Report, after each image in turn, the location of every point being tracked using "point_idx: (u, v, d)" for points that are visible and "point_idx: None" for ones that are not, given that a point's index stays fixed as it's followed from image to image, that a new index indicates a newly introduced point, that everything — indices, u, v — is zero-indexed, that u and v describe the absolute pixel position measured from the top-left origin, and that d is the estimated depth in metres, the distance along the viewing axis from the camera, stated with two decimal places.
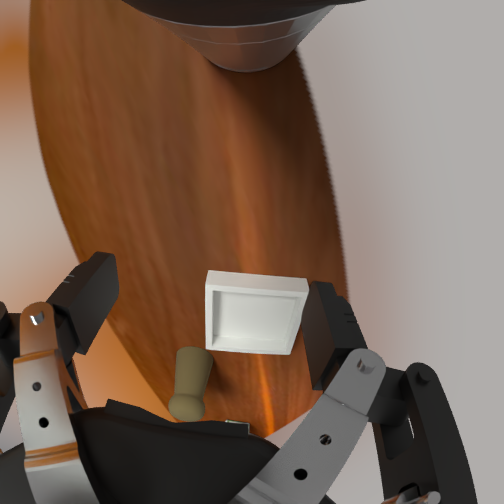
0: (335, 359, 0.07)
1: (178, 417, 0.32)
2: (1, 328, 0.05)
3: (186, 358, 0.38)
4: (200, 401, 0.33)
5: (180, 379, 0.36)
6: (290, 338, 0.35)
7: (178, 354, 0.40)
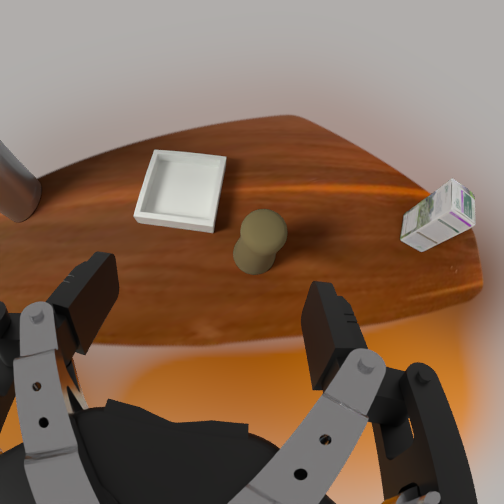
0: (335, 359, 0.07)
1: (268, 236, 0.29)
2: (1, 328, 0.05)
3: (236, 253, 0.37)
4: None
5: (243, 250, 0.34)
6: (202, 157, 0.40)
7: (241, 267, 0.38)
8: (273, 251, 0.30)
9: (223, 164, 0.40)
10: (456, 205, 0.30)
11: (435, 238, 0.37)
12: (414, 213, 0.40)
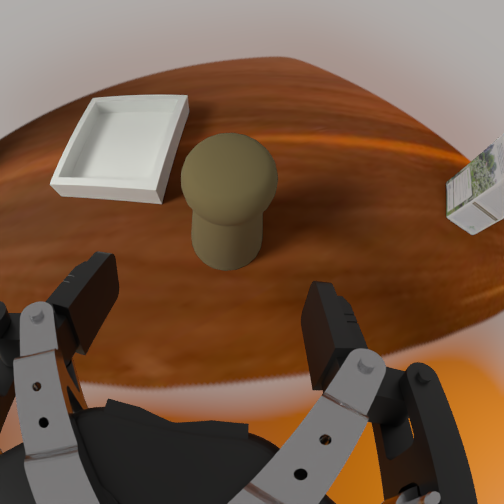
0: (335, 359, 0.07)
1: (233, 178, 0.13)
2: (1, 328, 0.05)
3: (192, 233, 0.21)
4: None
5: (196, 221, 0.18)
6: (153, 98, 0.24)
7: (203, 257, 0.22)
8: (247, 213, 0.14)
9: (182, 104, 0.24)
10: None
11: (496, 212, 0.21)
12: (464, 178, 0.24)
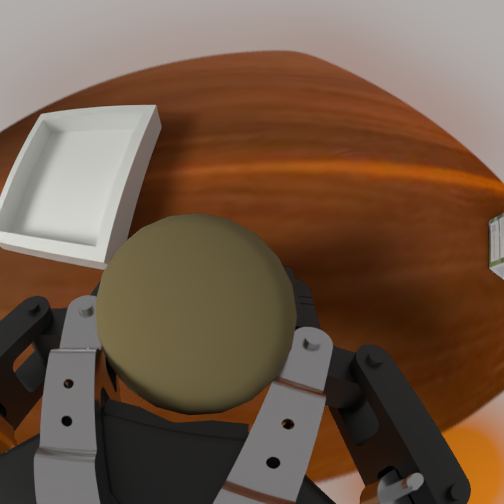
0: None
1: (195, 361, 0.05)
2: (45, 324, 0.06)
3: None
4: None
5: None
6: (110, 111, 0.16)
7: None
8: (231, 407, 0.06)
9: (147, 119, 0.16)
10: None
11: None
12: None
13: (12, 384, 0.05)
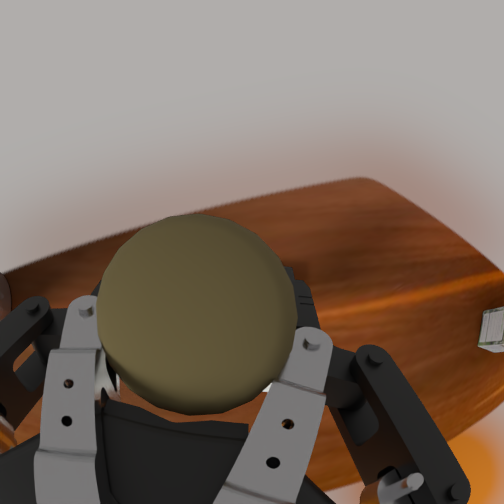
0: None
1: (195, 362, 0.05)
2: (45, 324, 0.06)
3: None
4: None
5: None
6: None
7: None
8: (232, 408, 0.06)
9: None
10: None
11: None
12: (499, 318, 0.25)
13: (12, 384, 0.05)
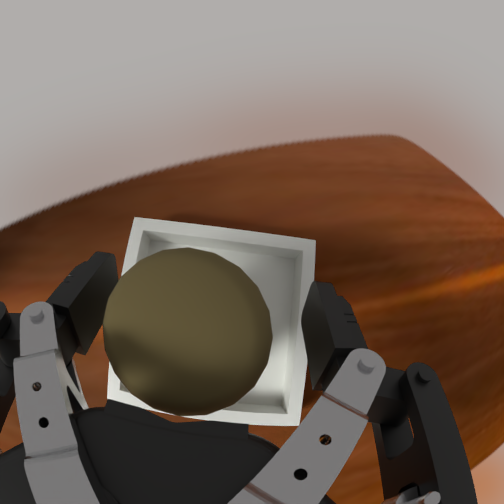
0: (335, 359, 0.07)
1: (183, 373, 0.06)
2: (1, 328, 0.05)
3: None
4: None
5: None
6: (258, 242, 0.17)
7: None
8: None
9: (311, 262, 0.17)
10: None
11: None
12: None
13: None
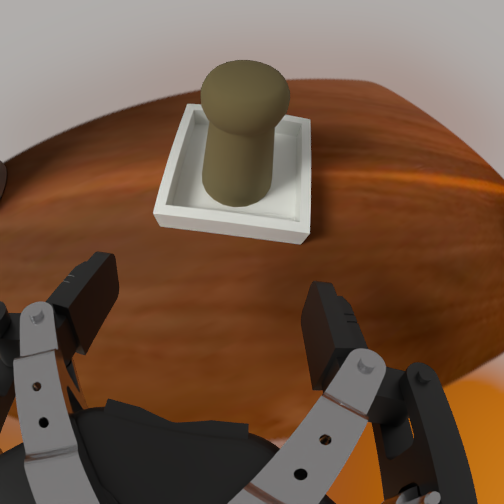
0: (335, 359, 0.07)
1: (251, 85, 0.12)
2: (1, 328, 0.05)
3: (204, 166, 0.21)
4: None
5: (210, 144, 0.17)
6: None
7: (213, 192, 0.22)
8: (262, 117, 0.13)
9: (308, 130, 0.23)
10: None
11: None
12: None
13: None
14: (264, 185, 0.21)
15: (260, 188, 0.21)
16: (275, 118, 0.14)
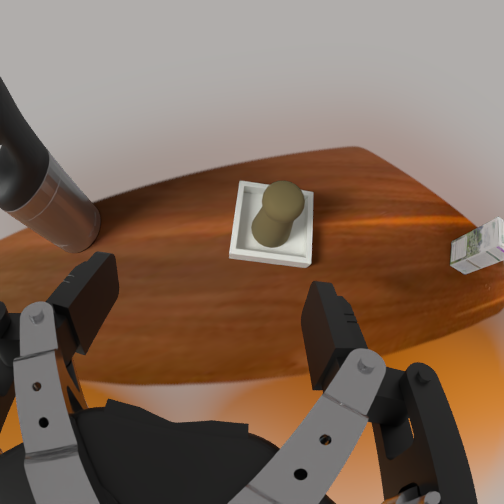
0: (335, 359, 0.07)
1: (288, 203, 0.31)
2: (1, 328, 0.05)
3: (255, 226, 0.39)
4: None
5: (263, 220, 0.36)
6: None
7: (259, 240, 0.40)
8: (292, 217, 0.32)
9: (312, 200, 0.42)
10: (502, 241, 0.31)
11: (479, 264, 0.39)
12: (462, 242, 0.42)
13: None
14: (287, 237, 0.40)
15: (285, 238, 0.40)
16: (298, 216, 0.33)
